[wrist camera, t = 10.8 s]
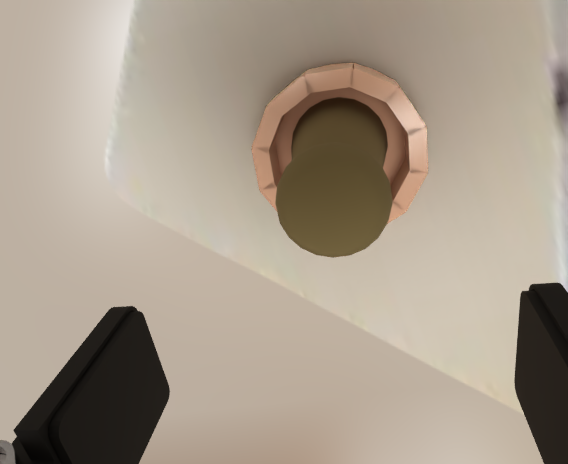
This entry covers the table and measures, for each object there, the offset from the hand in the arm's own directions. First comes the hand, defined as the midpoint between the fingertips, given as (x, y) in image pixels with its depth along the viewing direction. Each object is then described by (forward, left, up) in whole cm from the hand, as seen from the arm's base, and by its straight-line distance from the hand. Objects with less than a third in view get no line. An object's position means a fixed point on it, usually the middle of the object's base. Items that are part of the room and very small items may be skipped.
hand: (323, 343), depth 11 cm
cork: (0, 0, -20) cm, 20 cm away
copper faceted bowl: (0, 0, -21) cm, 21 cm away
